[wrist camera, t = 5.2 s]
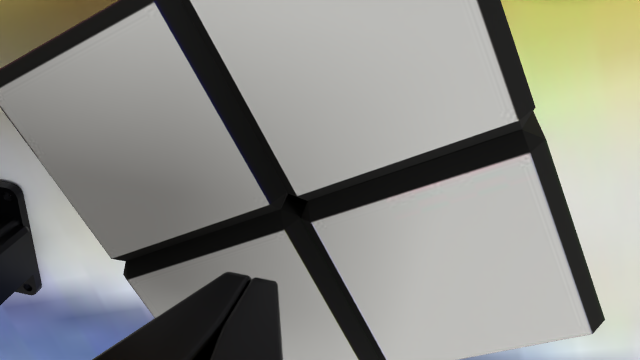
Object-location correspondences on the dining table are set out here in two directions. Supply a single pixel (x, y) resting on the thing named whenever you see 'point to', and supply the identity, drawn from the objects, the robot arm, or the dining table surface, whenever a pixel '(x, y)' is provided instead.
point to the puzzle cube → (316, 168)
